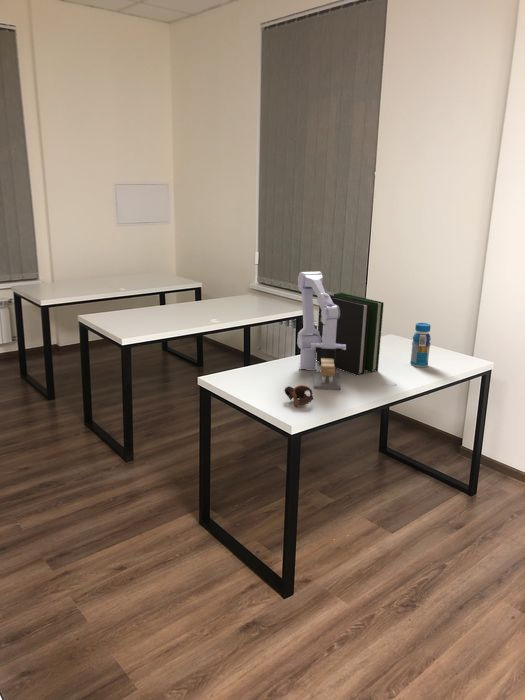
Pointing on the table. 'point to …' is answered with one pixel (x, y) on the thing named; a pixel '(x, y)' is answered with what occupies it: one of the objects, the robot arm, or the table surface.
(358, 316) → the binder
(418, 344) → the beverage bottle
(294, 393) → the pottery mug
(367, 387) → the table surface
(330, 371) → the shelf board
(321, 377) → the peg stand
